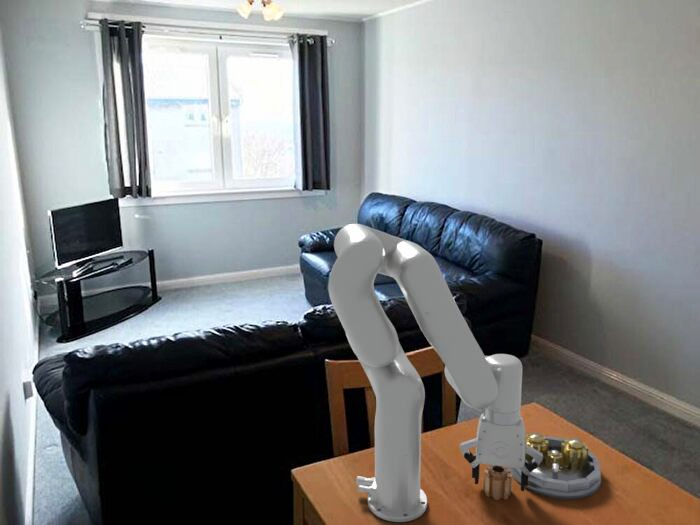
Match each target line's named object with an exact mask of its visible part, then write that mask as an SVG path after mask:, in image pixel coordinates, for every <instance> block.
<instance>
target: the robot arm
mask: <svg viewBox="0 0 700 525" xmlns="http://www.w3.org/2000/svg"><path fill="white" fill-rule="evenodd" d="M333 247H334V252H335V254H336V257H337V258H336V259H335V261H334V264H333V266H332V267H331V271H330V274H329V277H328V285H327V286H328V287H327V288H328V289H327V290H328V295H329V299H330V301H331V304H332V307H333V309H334V311H335V313H336V315H337V318H338V320H339V321H340V323H341V326H342V328H343V330H344V332H345V336H346V338H347V341H348V343H349V346H350V348H351V349H352V351H353V353H354V355H355V356H356V358H357V359H358V361H359V363H360V364H361V367H362V368H363V370H364V373H365V375H366V376H367V379H368V381H369V383H370V386H371V388H372V391H373V392H374V395H375V398H376V399H375V402H376V405H375V406H376V408H375V409H376V410H375V414H374V415H375V417H374V476H372V477H371V478H370V477H366V476H365V477H364V476H359V475H358V476H356V481H355V485H356V486H358V493H367V494H368V495H367V505H368V508H369V510H370V511H371V512H372V514H373V515H375V516H376V517H378V518H380V519H382V520H385V521H388V522H393V523H407V522H412V521H413V520H416V519H418V518H420V517H421V516H422V515H424V513H425V512H426V510H427V508H428V498H427V495H426V493H425V491H424V490H423V489H422V488H421V462H422V461H421V460H422V459H421V458H422V454H421V453H422V420H423V419H422V417H423V411H424V405H425V398H426V394H425V393H426V392H425V386H424V383H423V381H422V380H423V379H422V378H421V376H420V375H419V373H418V371H417V369H416V368H415V366H414V365H413V364H412V363H411V360H409V358H408V356H407V354H406V353H405V351H404V350H403V347H402V345H401V343H400V341H399V337H398V333H397V330H396V328H395V326H394V325H393V323H392V322H391V320H390V319H389V317H388V316H387V314H386V312H385V311H384V308H383V307H382V304H381V302H380V300H379V297H378V295H377V293H376V291H375V287H374V284H375V280H376V277H377V275H378V274H380V275H384V276H385V277H386V276H387V277H391V278H393V279H394V281H396V284H397V285H398V286H399V289H400V290H401V292H402V295H403V296H404V299H405V301H406V302H407V305H408V306H409V309H410V310H411V312H412V315H413V316H414V318H415V321H416V323H417V324H418V326H419V329H420V331H421V332H422V333H423V335H424V337H425V338H426V340H427V342H428V343H429V344H430V346H431V348H433V349H434V350H435V352H436V353H437V354H438V356H439V357H440V359H441V360H442V362H443V364H444V365H445V366H444V376H445V378H446V381H447V382H448V383H449V385H450V386H451V387H452V388H453V390H454V391H455V392H456V395H458V396H459V398H460V399H461V401H462V402H463V403H464V404H465V405H466V406H468V407H470V408H472V409H474V410H476V412H480V413H481V415H480V417H479V420H478V422H477V423H478V424H477V430H476V437H475V438H472V439H469V440H465V441H463V442H460V444H459V449H460V452H461V453H462V455H463V457H464V459H465V460H466V461H467V462H468V463H469V464H470V467H471V478H472V479H474V485H478V484H479V481H480V464H482V465H483V464H484V465H487V466H488V465H494V466H501V467H507V468H508V469H509V468H520V469H521V470H522V471H521V484H520V491H521V492H525V487H524V486H528V475H529V474H530V472H532V471H533V470H535V469H536V468H537V467H538V465H539V464H540V463H541V461H542V460H543V454H542V453H540V452H539V451H537V450H535V449H534V448H532V447H530V446H528V445H527V444H526V439H525V435H526V428H525V423H524V419H523V417H522V416H521V409H522V407H521V406H522V384H523V364H522V362H521V360H520V359H519V358H518V357H516V355H512V354H507V353H495V354H492V355H485V354H484V352H483V350H482V348H481V347H480V345H479V343H478V342H477V340H476V338H475V336H474V334H473V332H472V331H471V328H470V327H469V325H468V323H467V321H466V319H465V318H464V316H463V314H462V312H461V310H460V309H459V307H458V304H457V302H456V301H455V298H454V296H453V295H452V292H451V290H450V287H449V286H448V283H447V281H446V279H445V277H444V275H443V272H442V271H441V268H440V266H439V264H438V262H437V261H436V259H435V257H434V256H433V255H432V254H431V253H430V252H429V251H427V250H426V249H424V247H422V246H421V245H419V244H418V243H415V242H413V241H410V240H407V239H404V238H401V237H398V236H394V235H391V234H389V233H387V232H384V231H381V230H379V229H376V228H372V227H371V226H367V225H365V224H361V223H352V224H351V223H350V224H347V225H344V227H342V228H340V229H339V231H338V232H337V234H336V235H335V238H334V241H333ZM473 448H475V454H473V453H472V452H471V451H470V450H469V449H473ZM526 453H527V454H529V455H530V456H532V457H534V459H533V460H532V461H530V462H529V463H528V462H527V461H526V460H525V456H526Z"/></svg>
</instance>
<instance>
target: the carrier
mask: <svg viewBox="0 0 700 525" xmlns="http://www.w3.org/2000/svg"><path fill="white" fill-rule="evenodd" d="M525 439H526V444H527V445H528V446H530V447H532V448H534V449H535V450H537V451H539V452H540V453H542V454H543V460H542V461H541V463H540V464H539V465H538V467H537V468H536V469H535V470H533V471H532V472H530V474H529V475H528V486H524V489H527V490H529V491H530V492H533V493H534V494H536V495H537V494H538V495H541V496H543V497H547V498H551V499H557V500H580V499H585V498H588V497H590V496H593V495H594V494H595V493H596V492H598V490H599V489H600V486H601V483H602V472H601V466H600V460H599V458H598V457H597V456H596V455H595V454H594V453H592V451H590V449H589V446H588V445H586V444H587V443H585V442H584V441H583V440H581V439H579V438H577V437H569V438H563V437H562V438H561V437H556V436H548V435H543V434H541V433H539V432H529V433H525ZM533 459H534V457H532V456H530V455H529V454H527V453H526V456H525V460H526V461H527V462H528V463H529V462H530V461H532V460H533ZM508 470H510V474H512V479H514V480H515V481H516V482H517V483H518V484H519V485H521V471H522V470H521V469H520V468H508Z"/></svg>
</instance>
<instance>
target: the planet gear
mask: <svg viewBox="0 0 700 525" xmlns="http://www.w3.org/2000/svg"><path fill="white" fill-rule="evenodd" d="M512 479H513V476H512V474H511V473H510V470H509V468H508V467H501V466H494V465H489V466H487V467H486V469H484V471H483V485H482V487H483V491H484V495H486V496H487V497H488V498H490V497H492V498H493V500H497V501H499V500H500V499H503V500H507V499H509V498H510V497H509V496H511V494H512V481H513V480H512Z"/></svg>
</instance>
